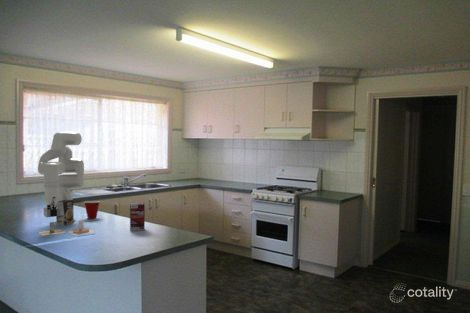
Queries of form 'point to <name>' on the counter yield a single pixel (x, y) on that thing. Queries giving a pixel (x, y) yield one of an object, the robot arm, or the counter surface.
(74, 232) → the hub
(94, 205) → the plastic cup
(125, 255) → the counter surface
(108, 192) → the counter surface
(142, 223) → the supplement box
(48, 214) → the collar
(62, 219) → the coffee box
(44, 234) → the rod stand
